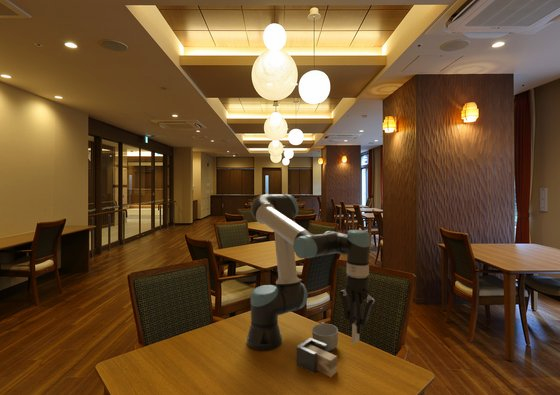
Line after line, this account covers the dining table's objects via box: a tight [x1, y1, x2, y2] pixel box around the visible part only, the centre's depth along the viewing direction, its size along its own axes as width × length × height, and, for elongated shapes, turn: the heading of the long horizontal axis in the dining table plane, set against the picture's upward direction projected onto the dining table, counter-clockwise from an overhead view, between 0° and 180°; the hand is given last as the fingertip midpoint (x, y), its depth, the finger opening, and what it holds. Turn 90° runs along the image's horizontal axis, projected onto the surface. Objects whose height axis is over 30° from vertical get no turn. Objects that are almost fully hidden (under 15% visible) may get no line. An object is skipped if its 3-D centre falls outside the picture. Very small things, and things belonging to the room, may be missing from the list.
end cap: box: [295, 337, 328, 374], centre depth 113 cm, size 8×9×7 cm
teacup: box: [311, 321, 339, 352], centre depth 126 cm, size 14×11×8 cm
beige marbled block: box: [306, 344, 338, 378], centre depth 110 cm, size 12×4×6 cm, turn 48°
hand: (355, 341), depth 104 cm, fingers closed
